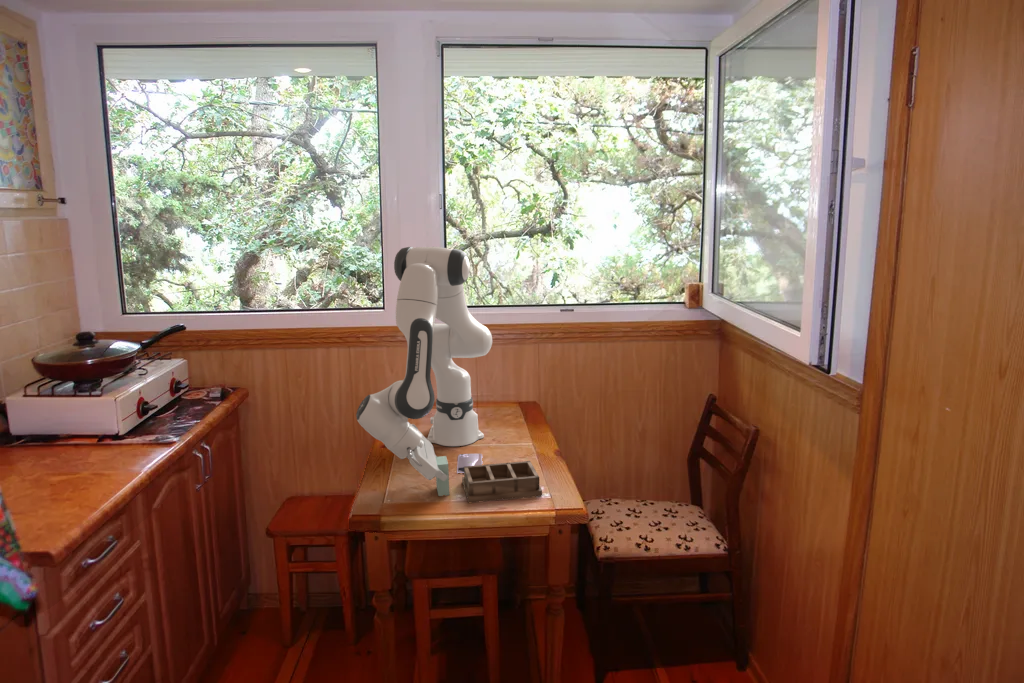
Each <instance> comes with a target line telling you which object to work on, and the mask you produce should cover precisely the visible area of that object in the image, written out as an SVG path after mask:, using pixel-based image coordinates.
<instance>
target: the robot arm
mask: <svg viewBox="0 0 1024 683" xmlns="http://www.w3.org/2000/svg"><path fill="white" fill-rule="evenodd" d="M393 264H394V265H393V268H394V270H393V271H394V273H395V274H394V275H395V276H396V278H397V279H398V280H399V281H400V283H399V287H398V290H397V297H396V302H395V303H396V304H395V323H396V326H397V328H398V330H399V331H400V332H401V333H402V334H403V335H404V337H405V340H406V344H407V345H406V346H407V352H406V353H407V354H406V366H405V376H404V378H403V379H402V380H401V379H400V380H396V381H395V382H393V383H392V384H390V385H389V386H388V387H386V388H384V389H382V390H380V391H378V392H375V393H371V394H368V395H366V396H365V397H364V399H363V400H362V401H361V402H360V404H359V405H358V408H357V411H356V414H355V416H356V421H357V422H358V424H359V425H360V426H361V427H362V428H363V429H364V430H365V431H366V432H367V433H368V434H370V436H372V437H373V438H374V439H376V440H377V441H379V442H382V443H383V445H384V446H385V447H386V448H387V450H389V451H390V452H391V453H393V455H395V456H396V457H398V458H399V459H400V460H404V459H405V458H406V459H408V460H409V464H410V465H411V466H412V467H413V469H415V470H416V471H417V472H418V473H419V474H420V475H421V476H423V477H424V478H425V479H426V480H428V481H431V480H433V479H434V478H436V477H437V478H440V479H441V480H442V481H445V480H446V479H447V478H448V477H447V474H446V473H445V472H442V471H441V470H439V468H438V466H437V461H436V457H438V456H437V455H436V453H435V448H434V446H433V444H437V445H440V446H444V447H460V446H461V447H462V446H467V445H471V444H473V443H475V442H476V441H478V440H481V439H484V438H485V434H484V433H483V432H482V431H481V430H480V429H479V420H478V419H479V418H478V417H479V415H478V413H476V412H475V410H473V408H474V407H473V406H474V401H473V397H472V381H471V380H472V378H471V376H470V373H469V372H468V371H467V370H466V369H464V368H462V367H460V366H458V364H456V363H455V362H454V360H453V358H454V359H455V358H459V359H464V358H465V359H466V358H468V359H473V358H479V357H483V356H487V354H488V353H489V352H490V351H491V348H492V346H493V335H492V332H491V331H490V329H489V328H488V327H487V326H485V325H484V324H483V323H481V322H479V321H478V320H477V319H476V318H475V317H474V316H473V315H472V314H471V312H470V311H469V308H468V306H467V301H466V297H465V289H464V288H465V287H464V283H465V282H467V280H469V279H468V278H469V274H470V271H471V263H470V258H469V256H468V254H467V253H466V252H465V251H464V250H461V249H459V248H453V249H452V248H447V247H441V246H430V247H429V246H421V247H420V246H419V247H418V246H416V247H413V246H408V247H402V248H400V250H399V251H397V253H396V254H395V258H394V263H393ZM436 319H437V320H438V321H440V322H442V323H436V322H435V321H436ZM431 369H432V370H431ZM431 371H432V372H433V373H434V377H435V382H436V394H437V395H436V401H435V392H434V389H433V384H432V380H431V373H432V372H431ZM434 405H436V407H435V408H436V412H435V414H434V415H433V416H431V417H430V424H431V427H430V429H429V433H428V436H427V437H425V436H424V434H423V433H422V432H421V431H420V430H419V428H418V426H416V425H415V423H411V422H409V419H412V420H418V419H422V418H424V417H426V416H427V415H429V413H430V412H431V411H432V409H433V408H434ZM432 443H433V444H432Z"/></svg>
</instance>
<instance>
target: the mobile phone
mask: <svg viewBox="0 0 1024 683" xmlns="http://www.w3.org/2000/svg"><path fill="white" fill-rule="evenodd" d="M482 458H483V454H482V453H460V454H458V456H457V466H456V467H457V468H456V469H457V470H456V473H457V474H458V473H464V466H476V465H482V464H483V461H482Z"/></svg>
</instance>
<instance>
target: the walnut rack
mask: <svg viewBox="0 0 1024 683" xmlns="http://www.w3.org/2000/svg"><path fill="white" fill-rule="evenodd" d="M461 479H462V485H464V486H463V489H464V491H465V496H466V495H467V496H466V498H467V502H468V503H469V502H472V503H480V502H479V501H483V502H491V501H493V502H494V501H501V500H503V499H504V500H513V499H522V498H523V497H524V498H533V497H532V496H535V497H542V496H543V490H542V488H541V486H540V476H539V474H538V473H537V471H536V469H535V467H534V465H533V464H532V462H531V460H524V461H523V460H522V461H511V462H502V463H501V462H500V463H490V464H483V465H476V466H464V474H463V476H462V478H461ZM541 495H542V496H541ZM524 498H523V499H524Z"/></svg>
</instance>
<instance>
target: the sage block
mask: <svg viewBox="0 0 1024 683" xmlns="http://www.w3.org/2000/svg"><path fill="white" fill-rule="evenodd" d="M436 461H437V466H438V468H439V470H441V471H442V472H445V473H446V474H447V477H448V478H447V479H446V480H445V481H442V480H441V479H440V478H437V477H435V480H436V481H435V483H436V491H437V495H438V496H437V497H443V495H445V496H450V474H449V462H448V459H447V455H443V456H442V455H441V456H437V457H436Z"/></svg>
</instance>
